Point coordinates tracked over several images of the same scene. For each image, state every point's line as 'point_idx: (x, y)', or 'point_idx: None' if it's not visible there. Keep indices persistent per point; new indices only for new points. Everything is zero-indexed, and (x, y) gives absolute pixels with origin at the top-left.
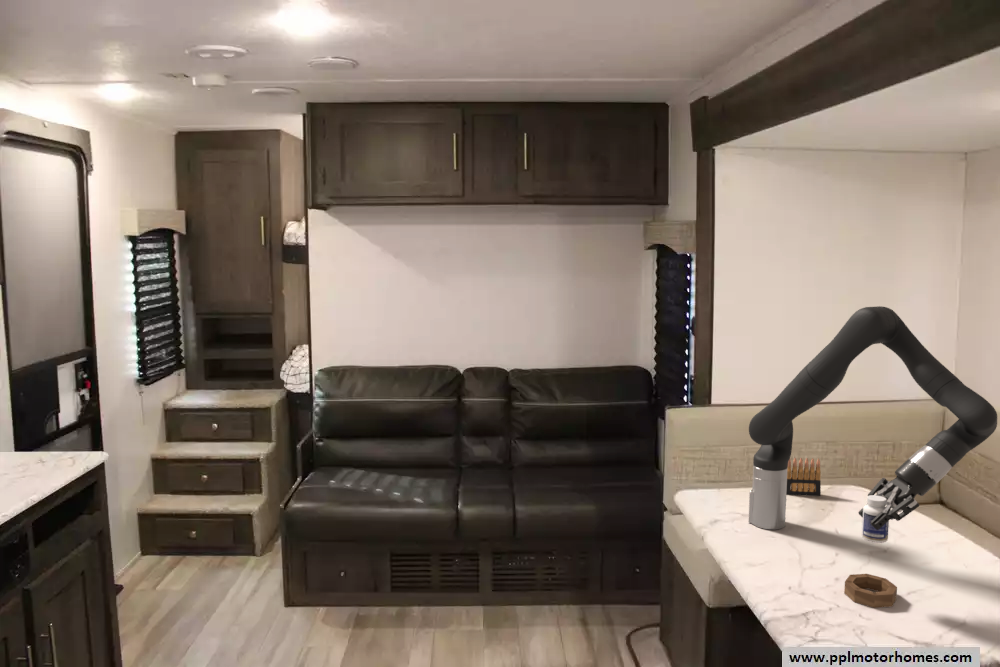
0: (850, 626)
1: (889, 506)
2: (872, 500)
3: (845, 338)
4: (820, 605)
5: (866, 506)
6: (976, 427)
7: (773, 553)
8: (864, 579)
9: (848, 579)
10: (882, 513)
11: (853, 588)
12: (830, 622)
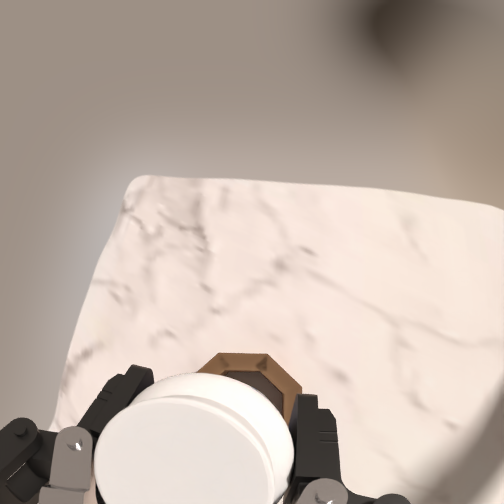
0: (137, 289)
1: (58, 472)
2: (130, 405)
3: None
4: (223, 276)
5: (220, 397)
6: None
7: (457, 288)
8: (283, 417)
9: (275, 368)
10: (92, 424)
11: (226, 353)
12: (159, 261)
